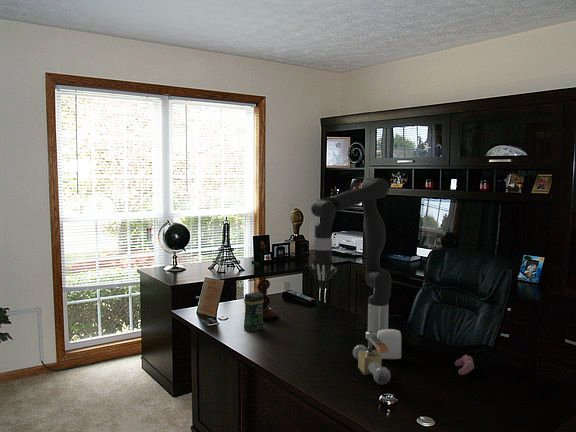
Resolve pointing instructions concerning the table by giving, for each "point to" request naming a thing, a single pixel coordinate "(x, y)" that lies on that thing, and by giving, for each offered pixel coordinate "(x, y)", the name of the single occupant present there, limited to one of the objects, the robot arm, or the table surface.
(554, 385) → the table surface
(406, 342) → the table surface
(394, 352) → the photo printer
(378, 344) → the lever
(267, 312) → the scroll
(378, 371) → the valve
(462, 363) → the pink curved piece
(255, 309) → the coffee jar
